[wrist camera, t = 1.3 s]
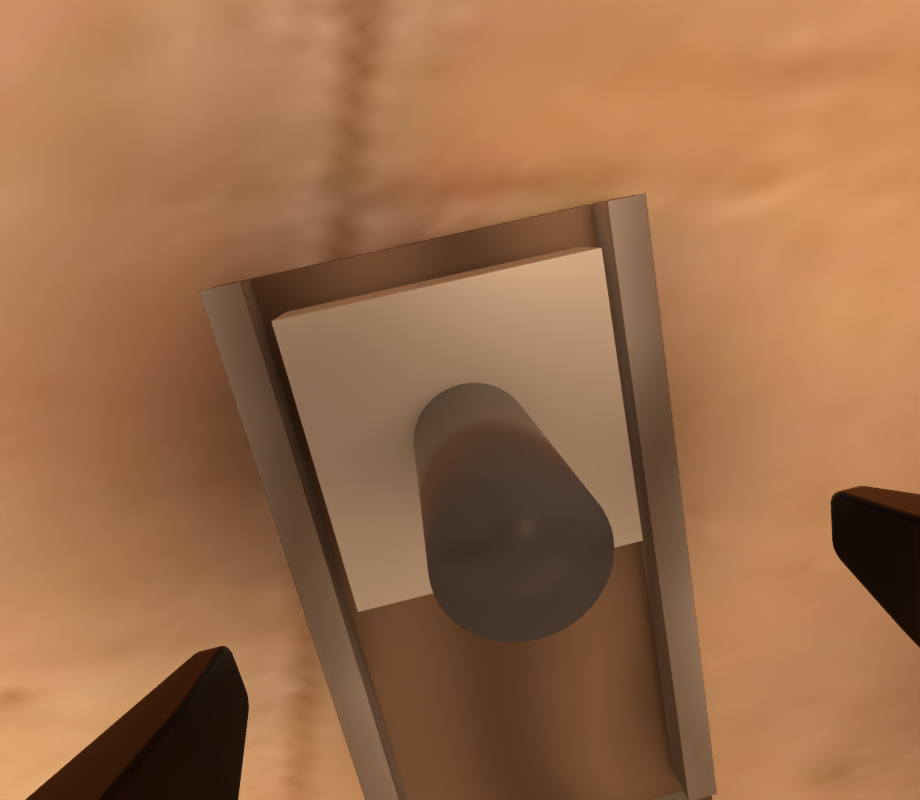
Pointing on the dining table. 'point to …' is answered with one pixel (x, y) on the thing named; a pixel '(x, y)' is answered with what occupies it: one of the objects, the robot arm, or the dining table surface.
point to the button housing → (674, 796)
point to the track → (422, 619)
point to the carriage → (472, 440)
